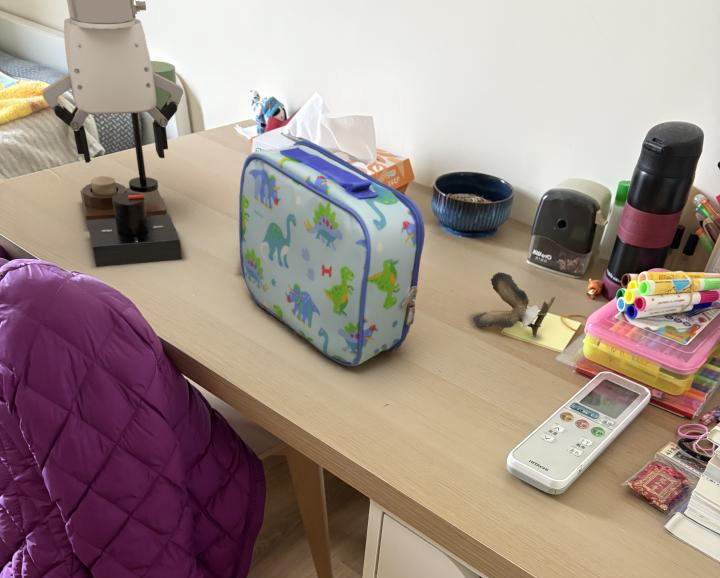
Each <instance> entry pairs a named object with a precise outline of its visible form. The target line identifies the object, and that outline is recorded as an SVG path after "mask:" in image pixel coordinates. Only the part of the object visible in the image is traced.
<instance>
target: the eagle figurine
mask: <svg viewBox="0 0 720 578" xmlns="http://www.w3.org/2000/svg"><path fill="white" fill-rule="evenodd" d="M490 281H491V283H490V284H491V286H492V289H493V290H494V291H495V292H496V293H497V294H498V295H499V297H500V299H501V300H502V301H503V302H505V303H506V304H507V305H509V306H510V307H511V308H512V309H511V310H491V311H489V312H488V311H487V312H482V313H479V314H477V315H475V316H473V322H474V324H476V326H478V327H481V328H482V327H484V328H486V327H499V328H502V329H508V328H512V327H514V325H516V324H517V322H519V323H522V327H523V328H526V327H528V328H531V332H532V336H533V337H534V338H536V337H537V335H538V331H539V328H541V327H542V326H541V325H542V323H543V321H544V319H545V317H547V314H548V312H549V310H550V309H551V307H552V305H553V303H554V302H555V299H556V296H552V298H551V299H550V300H549V301H548V303H547V302H546V301H543V304H542V306H541V308H540V309H539V306H538V304H534V305H532V306H529V307H528V305H529V303H530V298H528V295H527V293H526V292H525V290H522V289H521V288H519V287H518V284H517V283H516V282H515V280H514V279H513V276H512V275H510V274H509V273H505V272H500V271H497V272H496V273H495V274H493V275H492V278H490Z"/></svg>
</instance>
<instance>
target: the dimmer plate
mask: <svg viewBox="0 0 720 578" xmlns="http://www.w3.org/2000/svg"><path fill="white" fill-rule="evenodd" d="M147 222H148V231H147V232H145V233H144V234H141V235H134V236H130V235H123V234H121V233H119V232H118V231H117V227H116V220H115V218H111V219H96V220H87V221H86V225H87V224H88V226H87V230H88V229H89V230H88V234H89V239H90V243H91V249H92V253H93V257H94V262H95V267H107V266H117V265H128V264H129V265H130V264H141V263H153V262H161V261H173V260H174V261H175V260H182V258H183V256H182V247H181V246H182V245H181V239H180V236H179V234H178V232H177V231H178V230H177V229H176V227H175V224H174V221H173V219H172V217H171V215H170V213H169V214H168V213H167V215H153V216H147Z"/></svg>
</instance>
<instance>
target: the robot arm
mask: <svg viewBox="0 0 720 578" xmlns="http://www.w3.org/2000/svg"><path fill="white" fill-rule="evenodd" d="M66 4H67V9H68V16H69V18H68V17H67V18H66V19H64V20H63V21H64V22H63V36H64V39H63V40H64V47H65V48H64V49H65V50H64V51H65V57H66V64H67V70H68V72H67V73H66V74H65V75H63V76H62V77H60V78H58V80H55V81H54V82H53V83H50V85H48V86H47V87H45V88H43V89H42V91H41V95H42V98H43V99H44V101H45V102H46V104H47V105H48V106H49V107H50V110H52V111H53V113H54V114H55V116H56V117H57V118H59V120H61V121H62V122H63V123H65V124H66V125H67V126H68V127H69V128H70V129H71V130H72V131H73V135H74V141H75V145H76V146H75V147H76V151H77V155H83V158H84V162H85V164H88V163H89V164H90V162H92V159H91V155H90V150H89V145H88V138H87V132H86V128H85V125H84V123H85V121H86V120H87V118H88V117H89V115H121V114H122V115H123V114H131V113H138V114H142V113H148V115H149V116H150V117H151V118H152V119H153V122H152V131H153V138H154V146H155V152H156V154H157V156H158V158H160V159H166V158H165V157H166V156H165V150H169V144H168V137H167V135H168V134H167V127H168V124H169V121H170V120H171V119H172V118H173V116H174V115H175V114H176V113H177V111H178V107H179V105H180V102H181V100H182V97H183V94H184V90H183V88H182V87H181V85H179V84H178V83H177V82H176V83H174V82H172V81H170V80H168V79H166V78H164V77H162V76H160V75H158V74H156V73H154V72H152V67H151V61H152V60H151V57H150V51H149V48H148V44H147V39H146V34H145V31H144V28H143V25H142V21H141V20H140V19H138V18H136V15H138V12H141V11H147V4H146V0H66ZM155 86H157V87H159V88H161V89H163V90H165V91H167V92H169V93H170V95H169V99H168V101H167V102H166V103H165V105H164V106H163V107H162V108H161V110H160V109H159V108H158V107H157V106H156V92H155ZM69 90H71V94H72V97H73V100H74V102H75V106H74V108H73V110H72V111H70V110H68V109H67V108H66V107H65V106H64V105H62V103H61V102H60V100H59V99H58V98H59V97H60V96H62V95H64V94H65V93H66V92H67V91H69Z"/></svg>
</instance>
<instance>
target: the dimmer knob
mask: <svg viewBox="0 0 720 578" xmlns="http://www.w3.org/2000/svg"><path fill="white" fill-rule="evenodd" d="M112 202H113V208H114V214H115V220H116V227H117V231H118V232H119V233H121V234H123V235H130V236H134V235H141V234H144V233H145V232H147V231H148V222H147V214H146V206H145V199H144V195H140V194H137V193H120V194H117V195H115V196H114V197H113V198H112Z"/></svg>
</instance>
